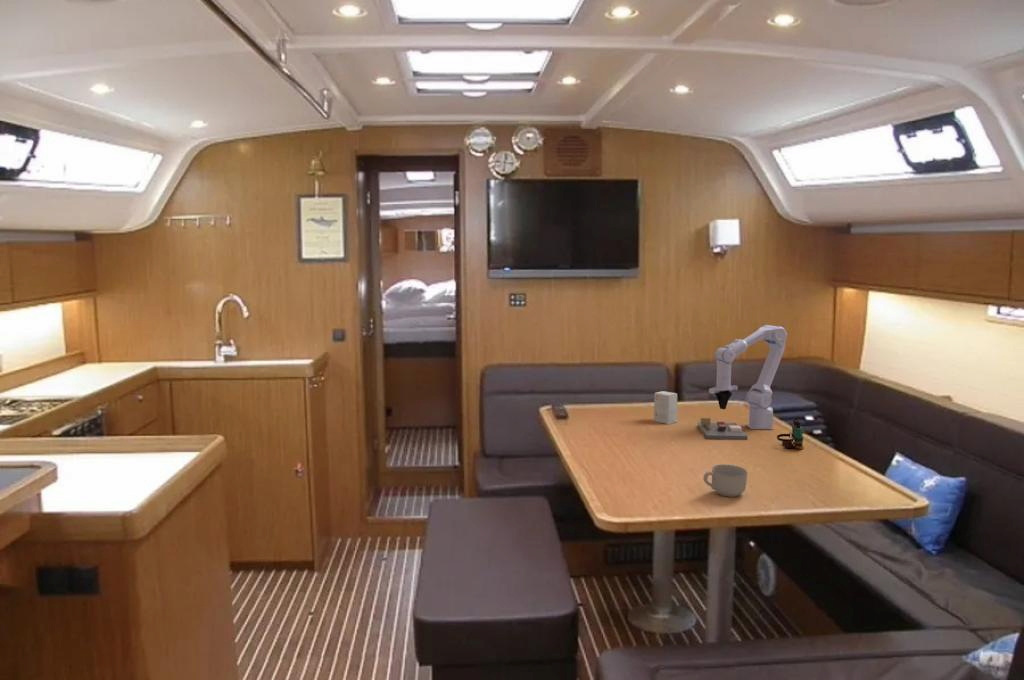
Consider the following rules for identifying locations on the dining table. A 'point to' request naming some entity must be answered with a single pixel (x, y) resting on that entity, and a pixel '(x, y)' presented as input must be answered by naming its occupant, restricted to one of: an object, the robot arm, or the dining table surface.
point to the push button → (735, 428)
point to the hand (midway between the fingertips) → (722, 408)
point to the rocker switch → (721, 425)
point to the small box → (665, 407)
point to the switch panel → (721, 432)
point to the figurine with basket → (793, 436)
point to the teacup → (727, 479)
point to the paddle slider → (704, 420)
